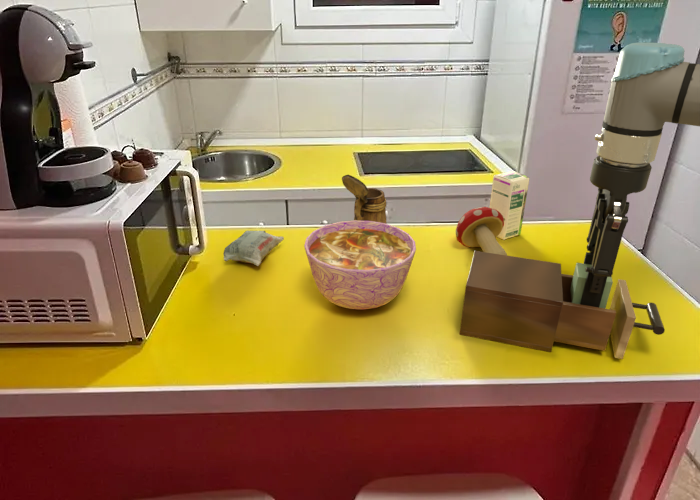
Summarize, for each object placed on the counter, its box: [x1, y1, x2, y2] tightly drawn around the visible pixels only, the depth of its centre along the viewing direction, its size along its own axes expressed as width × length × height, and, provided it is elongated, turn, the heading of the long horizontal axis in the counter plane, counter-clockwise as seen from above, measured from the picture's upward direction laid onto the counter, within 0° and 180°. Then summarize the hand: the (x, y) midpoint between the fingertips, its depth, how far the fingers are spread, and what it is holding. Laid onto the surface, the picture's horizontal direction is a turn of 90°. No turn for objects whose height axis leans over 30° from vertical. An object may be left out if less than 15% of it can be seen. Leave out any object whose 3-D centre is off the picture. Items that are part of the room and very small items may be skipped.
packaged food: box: [223, 229, 285, 267], centre depth 111 cm, size 9×12×5 cm
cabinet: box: [459, 250, 563, 353], centre depth 89 cm, size 15×13×10 cm
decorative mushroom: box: [455, 206, 508, 256], centre depth 112 cm, size 11×11×15 cm
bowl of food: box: [303, 219, 417, 311], centre depth 96 cm, size 20×20×12 cm
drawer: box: [554, 273, 666, 360], centre depth 86 cm, size 19×12×8 cm, turn 72°
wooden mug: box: [341, 174, 388, 224], centre depth 115 cm, size 9×14×18 cm, turn 145°
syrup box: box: [489, 170, 530, 241], centre depth 120 cm, size 6×6×14 cm
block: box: [571, 262, 614, 309], centre depth 84 cm, size 5×5×5 cm
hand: (588, 296), depth 85 cm, fingers closed on block, 5 cm apart
